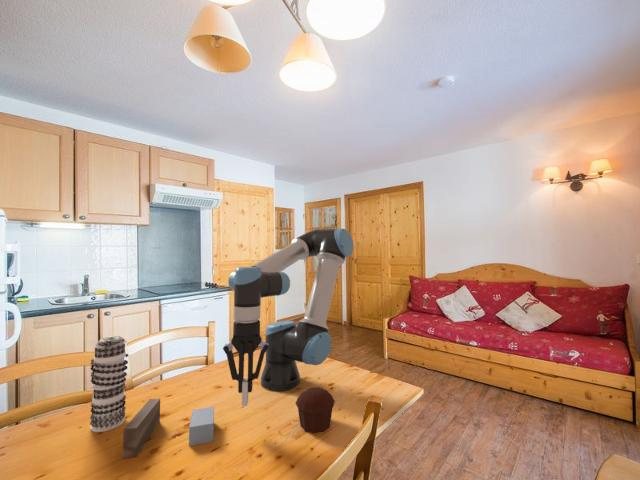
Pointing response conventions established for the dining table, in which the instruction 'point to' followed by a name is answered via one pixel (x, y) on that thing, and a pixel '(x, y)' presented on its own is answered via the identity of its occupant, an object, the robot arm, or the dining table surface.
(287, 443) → the dining table surface
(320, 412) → the muffin
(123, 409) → the decorative candle
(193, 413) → the slate block
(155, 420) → the board
